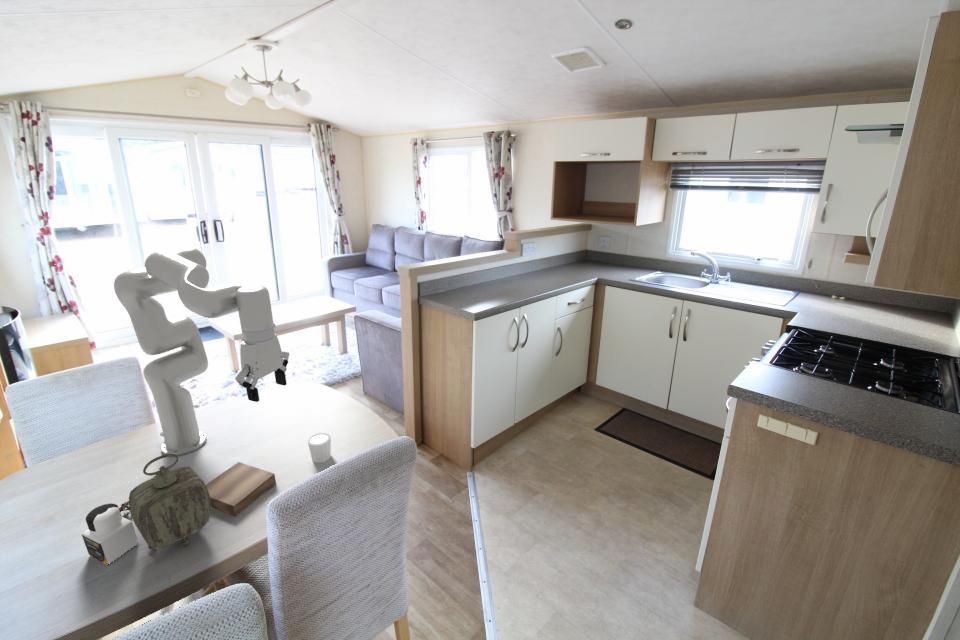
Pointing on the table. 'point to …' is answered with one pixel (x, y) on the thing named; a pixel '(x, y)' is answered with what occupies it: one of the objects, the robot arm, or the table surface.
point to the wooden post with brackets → (125, 509)
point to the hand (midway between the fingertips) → (268, 392)
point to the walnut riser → (239, 488)
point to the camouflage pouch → (169, 505)
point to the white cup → (320, 447)
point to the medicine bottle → (108, 533)
